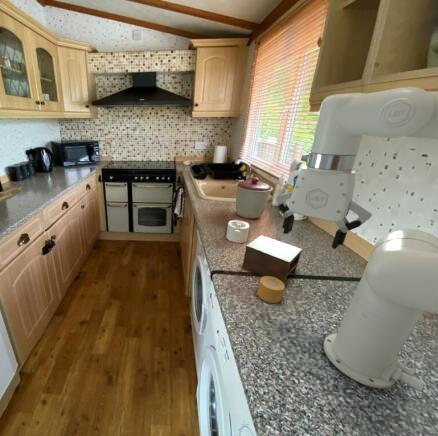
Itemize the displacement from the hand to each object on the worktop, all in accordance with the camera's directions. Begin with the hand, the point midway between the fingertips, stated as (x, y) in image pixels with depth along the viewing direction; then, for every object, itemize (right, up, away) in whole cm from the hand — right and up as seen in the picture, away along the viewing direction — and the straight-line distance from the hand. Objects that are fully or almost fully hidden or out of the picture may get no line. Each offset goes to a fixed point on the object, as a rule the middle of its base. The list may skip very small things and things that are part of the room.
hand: (309, 238), depth 55 cm
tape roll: (0, -19, +19) cm, 27 cm away
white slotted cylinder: (+5, -2, +58) cm, 58 cm away
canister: (+19, +6, +79) cm, 81 cm away
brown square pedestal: (+6, -14, +31) cm, 35 cm away
